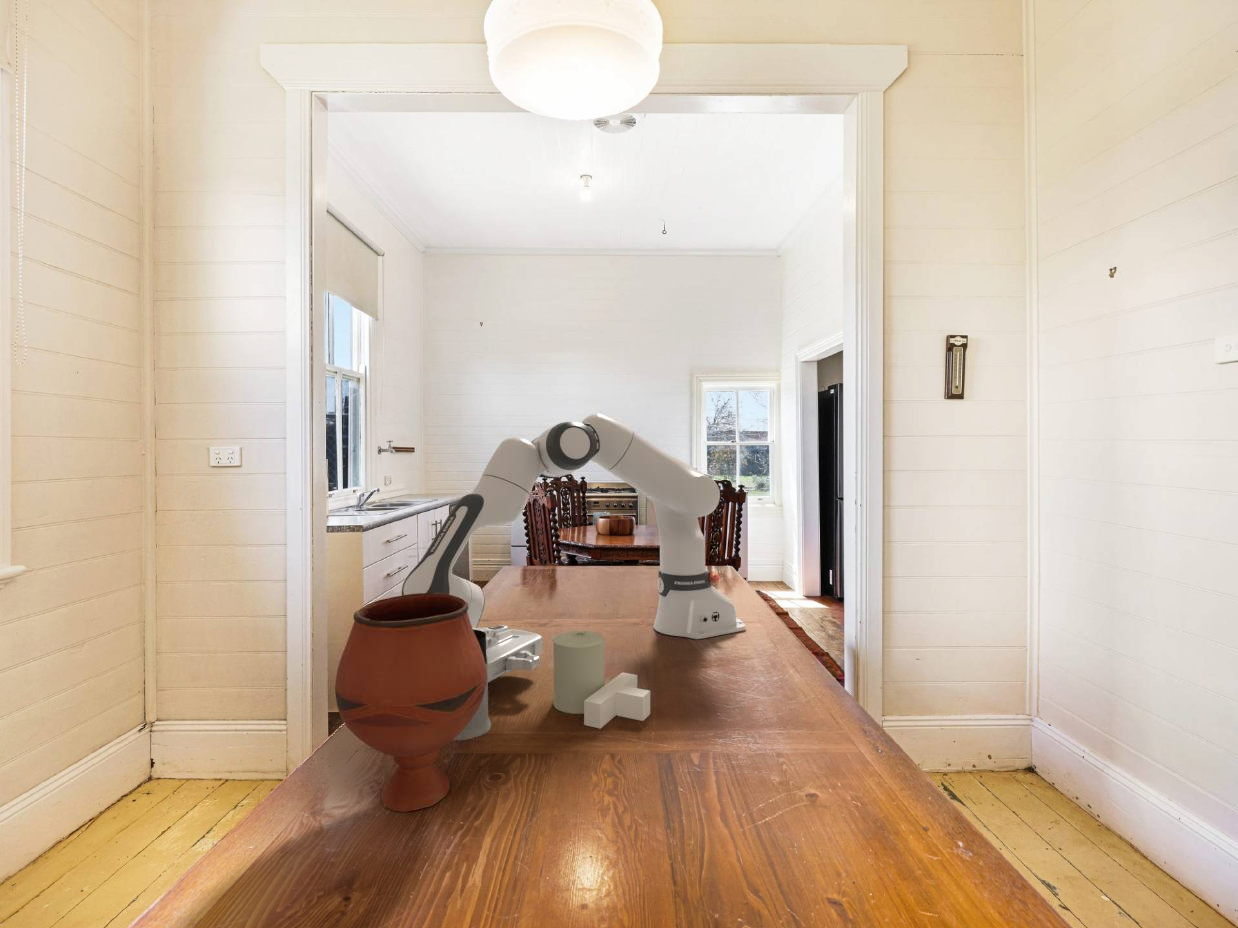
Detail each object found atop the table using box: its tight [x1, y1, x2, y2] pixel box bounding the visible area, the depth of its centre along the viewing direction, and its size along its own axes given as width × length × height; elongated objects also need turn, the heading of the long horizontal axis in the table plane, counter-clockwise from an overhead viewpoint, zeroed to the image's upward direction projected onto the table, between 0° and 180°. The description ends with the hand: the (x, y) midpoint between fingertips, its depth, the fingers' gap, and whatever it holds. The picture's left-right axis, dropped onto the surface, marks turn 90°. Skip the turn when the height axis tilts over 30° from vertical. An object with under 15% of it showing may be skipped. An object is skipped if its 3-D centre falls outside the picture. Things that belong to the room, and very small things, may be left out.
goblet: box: [334, 593, 487, 813], centre depth 83 cm, size 19×19×25 cm
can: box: [552, 630, 606, 715], centre depth 111 cm, size 9×9×12 cm
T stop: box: [583, 671, 651, 729], centre depth 107 cm, size 8×14×4 cm, turn 153°
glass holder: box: [452, 629, 492, 741], centre depth 99 cm, size 9×14×15 cm, turn 164°
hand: (535, 663), depth 115 cm, fingers closed
